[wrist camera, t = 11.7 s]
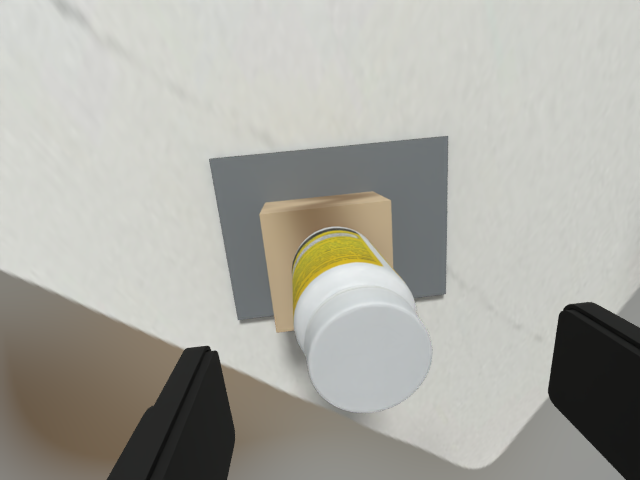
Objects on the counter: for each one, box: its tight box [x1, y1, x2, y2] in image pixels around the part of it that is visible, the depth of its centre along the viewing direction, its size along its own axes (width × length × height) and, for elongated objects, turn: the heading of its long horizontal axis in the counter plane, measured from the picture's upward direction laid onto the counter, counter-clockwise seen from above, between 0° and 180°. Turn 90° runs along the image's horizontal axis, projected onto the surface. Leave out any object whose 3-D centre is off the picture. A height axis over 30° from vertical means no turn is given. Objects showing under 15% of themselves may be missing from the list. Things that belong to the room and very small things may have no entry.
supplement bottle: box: [292, 227, 432, 413], centre depth 14 cm, size 5×5×8 cm
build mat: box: [209, 136, 448, 320], centre depth 22 cm, size 15×11×1 cm
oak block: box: [259, 191, 393, 333], centre depth 20 cm, size 7×7×4 cm
